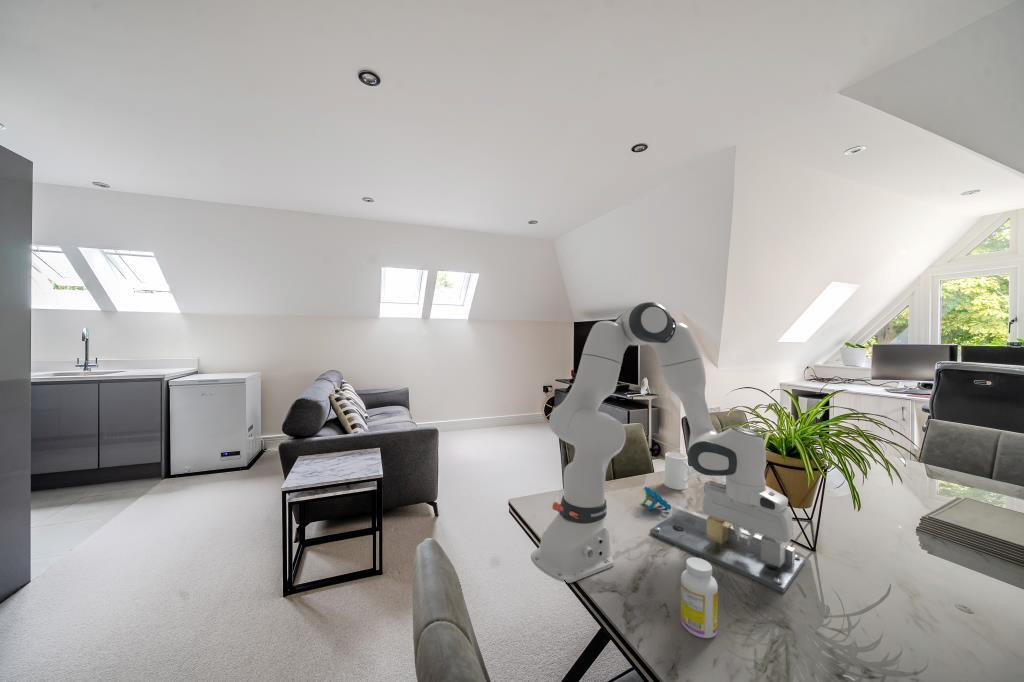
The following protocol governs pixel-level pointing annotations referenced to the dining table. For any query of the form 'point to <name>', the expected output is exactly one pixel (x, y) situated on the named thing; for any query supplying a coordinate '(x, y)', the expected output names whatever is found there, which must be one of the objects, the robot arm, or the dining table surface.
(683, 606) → the supplement bottle
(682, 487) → the mug
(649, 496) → the gear
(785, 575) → the bolt plate
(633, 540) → the dining table surface
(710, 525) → the block
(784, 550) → the trammel bar
